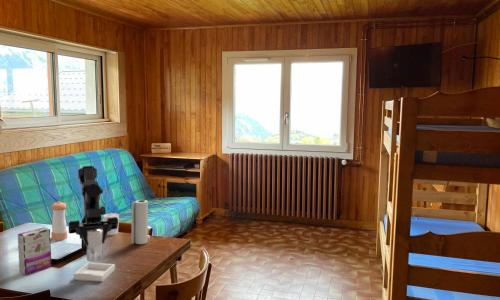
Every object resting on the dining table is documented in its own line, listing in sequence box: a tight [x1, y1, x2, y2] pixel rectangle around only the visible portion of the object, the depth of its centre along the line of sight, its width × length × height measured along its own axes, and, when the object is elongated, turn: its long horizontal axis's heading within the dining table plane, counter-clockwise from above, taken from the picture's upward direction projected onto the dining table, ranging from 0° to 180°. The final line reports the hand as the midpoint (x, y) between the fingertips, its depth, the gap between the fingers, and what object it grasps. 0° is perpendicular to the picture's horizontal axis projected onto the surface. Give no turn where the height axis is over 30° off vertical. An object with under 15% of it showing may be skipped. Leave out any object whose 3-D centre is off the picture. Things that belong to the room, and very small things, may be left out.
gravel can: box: [86, 227, 104, 263], centre depth 159 cm, size 6×6×12 cm
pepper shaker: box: [50, 201, 68, 241], centre depth 201 cm, size 7×7×19 cm
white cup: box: [102, 212, 120, 236], centre depth 211 cm, size 8×8×10 cm
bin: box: [73, 262, 116, 283], centre depth 160 cm, size 12×12×2 cm
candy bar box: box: [17, 226, 52, 276], centre depth 162 cm, size 11×5×16 cm, turn 148°
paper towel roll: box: [130, 199, 149, 245], centre depth 198 cm, size 7×6×21 cm
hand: (95, 244), depth 158 cm, fingers closed on gravel can, 6 cm apart
